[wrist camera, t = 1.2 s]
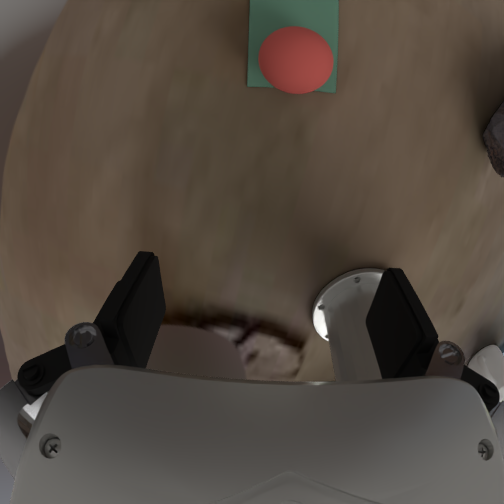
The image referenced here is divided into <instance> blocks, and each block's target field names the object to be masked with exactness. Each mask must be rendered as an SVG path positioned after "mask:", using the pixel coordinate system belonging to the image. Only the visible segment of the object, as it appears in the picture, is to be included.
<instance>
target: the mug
mask: <svg viewBox="0 0 504 504" xmlns="http://www.w3.org/2000/svg"><path fill="white" fill-rule="evenodd" d="M468 367H469V368H470V369H472V370H473V371H475V372H477V373H478V374H480V375H482V376H483V377H485V378H486V379H488V380H490V381H491V382H492V383H494V384H495V386H496V387H497V389H498V391H499V395H500V400H499V401H501V400H502V399H504V356H503V354H502V352H501V350H500V349H499V347H498V346H496V345H489V346H487V347H485V348H483V349H481V350H480V351H479V352H478V353H476V354H475V355H474V356H473V358H472V359H471V360H470V362H469V364H468Z"/></svg>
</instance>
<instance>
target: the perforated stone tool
mask: <svg viewBox="0 0 504 504" xmlns="http://www.w3.org/2000/svg"><path fill="white" fill-rule="evenodd" d="M483 139H484V142H485V145H486V148H487V153H488V157H489V159H490V161H491V164H492V166H493V168H494V170H495V171H496V173H498V174H499V175H501V177H504V102H503V103H502V104H501V106H500V107H499V108H498V110H497V111H496V112H495V114H494V115H493V117H492V118H491V119H490V123H489V124H488V126H487V128H486V130H485V132H484V133H483Z"/></svg>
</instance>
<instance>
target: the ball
mask: <svg viewBox="0 0 504 504" xmlns="http://www.w3.org/2000/svg"><path fill="white" fill-rule="evenodd" d="M258 61H259V67H260V70H261V72H262V74H263V76H264V77H265V78H266V80H267V81H268V82H269V83H270V84H271V85H273V86H274V87H276V88H277V89H279V90H281V91H284V92H287V93H292V94H304V93H308V92H312V91H314V90H316V89H318V88H319V87H321V86H322V85H323V84H324V83H325V82H326V81H327V80H328V78H329V77H330V75H331V73H332V69H333V54H332V51H331V48H330V46H329V45H328V43H327V42H326V41H325V39H324V38H323V37H322V36H320V35H319V34H318V33H316V32H314V31H312V30H310V29H307V28H304V27H298V26H290V27H284V28H281V29H278V30H276V31H274V32H273V33H271V34H270V35H269V36H268V37H267V38H266V39H265V40H264V42H263V43H262V45H261V47H260V51H259V56H258Z"/></svg>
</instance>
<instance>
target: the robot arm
mask: <svg viewBox="0 0 504 504" xmlns="http://www.w3.org/2000/svg"><path fill="white" fill-rule="evenodd" d="M165 310H166V305H165V299H164V293H163V287H162V281H161V274H160V267H159V260H158V257H157V256H154V253H153V252H144V251H139V252H138V254H137V255H136V257H135V258H134V260H133V262H132V263H131V265H130V266H129V268H128V270H127V271H126V273H125V274H124V276H123V278H122V279H121V281H118V282H117V283H116V285H115V286H114V288H113V290H112V291H111V293H110V295H109V296H108V298H107V300H106V301H105V303H104V305H103V307H102V308H101V310H100V312H99V314H98V315H97V317H96V319H95V321H94V322H93V323H90V322H83V323H79V324H76V325H74V326H73V327H72V328H70V329H69V330H68V332H67V333H66V336H65V344H64V345H62V346H60V347H57V348H55V349H53V350H51V351H48V352H46V353H44V354H42V355H40V356H37V357H35V358H33V359H31V360H28V361H27V362H25V363H24V364H23V365H22V366H21V368H20V369H19V372H18V379H17V380H16V381H15V382H14V380H13V379H12V380H11V381H10V382H8V383H7V384H6V385H5V386H4V387H2V388H1V389H0V457H1V459H2V461H3V463H4V464H5V466H6V467H7V469H8V470H9V472H10V474H11V475H12V477H13V478H14V480H15V482H14V486H13V490H12V495H11V500H10V504H504V401H502V402H500V401H499V400H500V395H499V391H498V389H497V387H496V386H495V384H494V383H492V382H491V381H490V380H488V379H486V378H485V377H483V376H482V375H480V374H478V373H477V372H475V371H473V370H472V369H470V368H469V367H467V366H465V365H464V363H465V356H464V353H463V351H462V349H461V348H460V347H459V346H458V345H456V344H455V343H453V342H450V341H441V342H440V343H439V341H438V339H437V338H438V334H437V332H436V330H435V328H434V326H433V324H432V322H431V320H430V318H429V317H428V315H427V313H426V311H425V309H424V307H423V305H422V303H421V302H420V300H419V298H418V296H417V294H416V293H415V291H414V289H413V287H412V286H411V284H410V282H409V280H408V279H407V277H406V275H405V274H404V272H403V270H402V269H400V268H388V269H387V271H385V270H381V269H377V268H364V269H357V270H354V271H350V272H347V273H345V274H343V275H341V276H339V277H337V278H336V279H334V280H333V281H331V282H330V283H329V284H328V285H327V286H325V287H324V288H323V289H322V291H321V292H320V293H319V295H318V296H317V298H316V300H315V302H314V305H313V309H312V319H313V325H314V327H315V330H316V331H317V333H318V334H319V335H320V336H321V337H322V338H323V339H325V340H327V341H329V345H330V350H331V356H332V362H333V368H334V374H335V380H336V381H331V382H288V381H260V380H243V379H229V378H218V377H207V376H197V375H190V374H182V373H174V372H166V371H158V370H152V369H146V365H147V362H148V359H149V356H150V354H151V351H152V348H153V345H154V342H155V339H156V337H157V334H158V331H159V328H160V325H161V323H162V320H163V317H164V314H165Z"/></svg>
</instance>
